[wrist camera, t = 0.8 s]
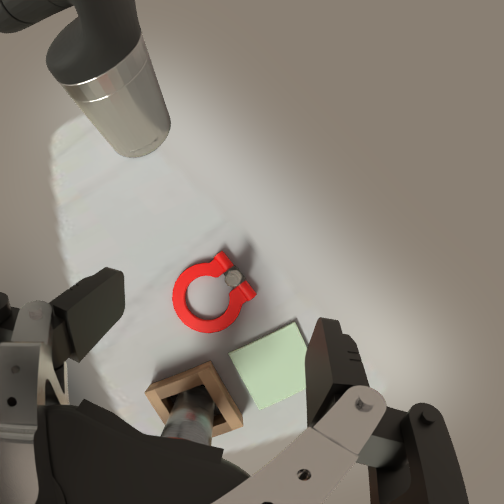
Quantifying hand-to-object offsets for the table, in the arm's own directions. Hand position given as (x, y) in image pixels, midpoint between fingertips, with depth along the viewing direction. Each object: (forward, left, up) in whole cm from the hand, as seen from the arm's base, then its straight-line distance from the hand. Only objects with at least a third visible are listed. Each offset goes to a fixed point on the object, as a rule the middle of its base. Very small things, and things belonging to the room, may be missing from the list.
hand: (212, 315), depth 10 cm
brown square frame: (+12, -10, -23) cm, 28 cm away
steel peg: (+12, -10, -23) cm, 28 cm away
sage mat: (+12, +1, -23) cm, 26 cm away
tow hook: (0, -2, -23) cm, 23 cm away
